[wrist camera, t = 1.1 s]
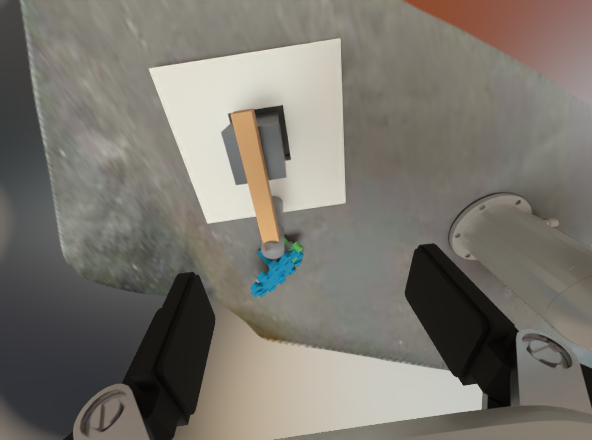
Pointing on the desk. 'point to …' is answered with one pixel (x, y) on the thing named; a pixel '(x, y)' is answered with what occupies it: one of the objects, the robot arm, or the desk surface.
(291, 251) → the blue spiky figurine
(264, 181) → the clip
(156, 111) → the desk surface
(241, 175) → the plug
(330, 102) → the socket block
